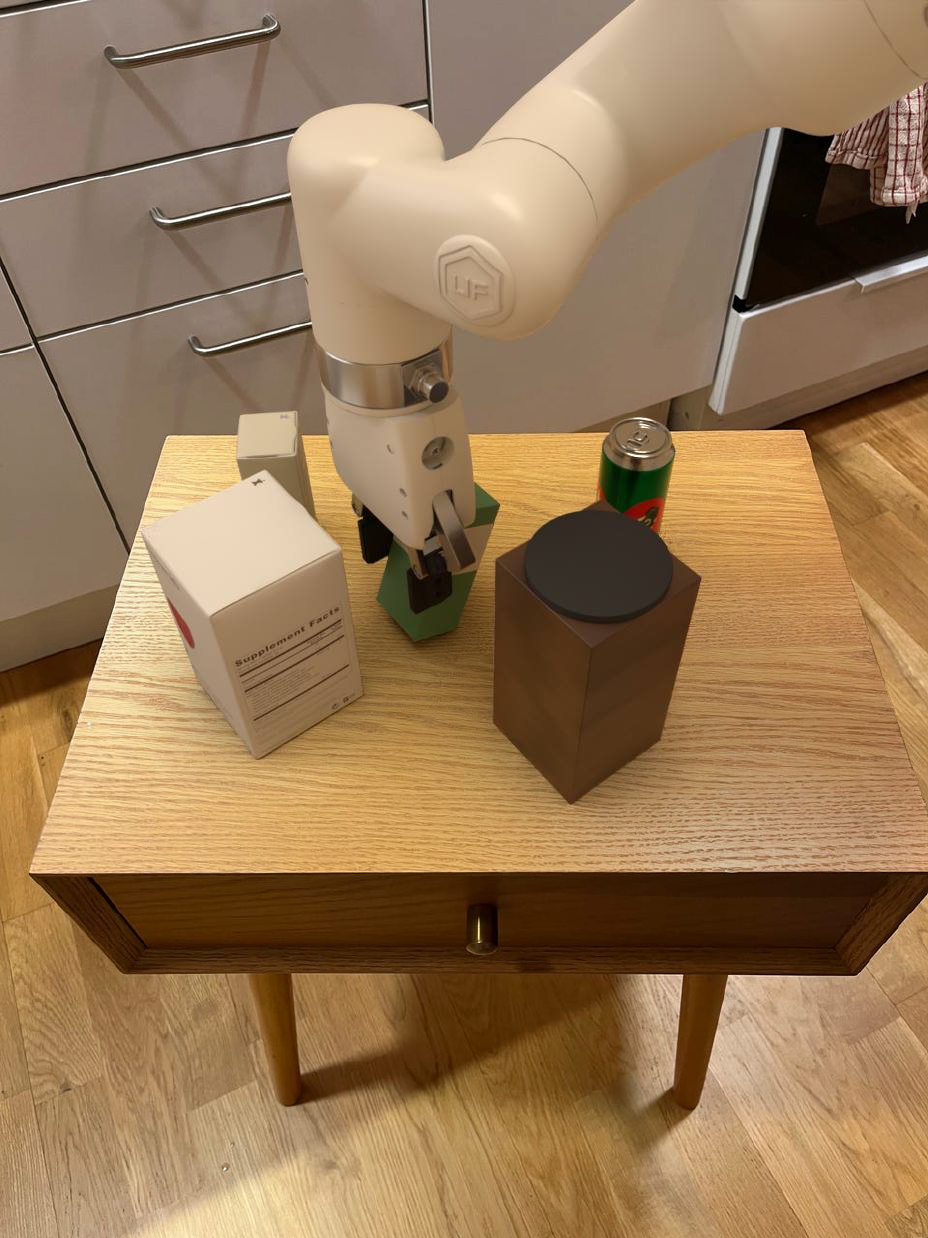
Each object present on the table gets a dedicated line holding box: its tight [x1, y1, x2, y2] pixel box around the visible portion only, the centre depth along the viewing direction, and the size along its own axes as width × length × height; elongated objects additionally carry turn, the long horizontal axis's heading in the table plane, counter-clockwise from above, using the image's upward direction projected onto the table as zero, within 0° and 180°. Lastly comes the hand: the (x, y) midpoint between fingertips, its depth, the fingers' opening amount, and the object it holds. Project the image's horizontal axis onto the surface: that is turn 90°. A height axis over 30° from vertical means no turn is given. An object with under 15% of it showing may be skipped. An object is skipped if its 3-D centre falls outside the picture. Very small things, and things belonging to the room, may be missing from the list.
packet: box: [375, 481, 501, 642], centre depth 67 cm, size 11×5×4 cm
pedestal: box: [492, 499, 703, 805], centre depth 59 cm, size 8×8×16 cm
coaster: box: [524, 509, 673, 623], centre depth 52 cm, size 8×8×1 cm
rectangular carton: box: [139, 470, 365, 760], centre depth 62 cm, size 9×9×15 cm
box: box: [235, 410, 318, 523], centre depth 73 cm, size 5×4×11 cm
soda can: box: [594, 416, 676, 536], centre depth 70 cm, size 5×5×12 cm
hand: (407, 576), depth 67 cm, fingers closed on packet, 5 cm apart
